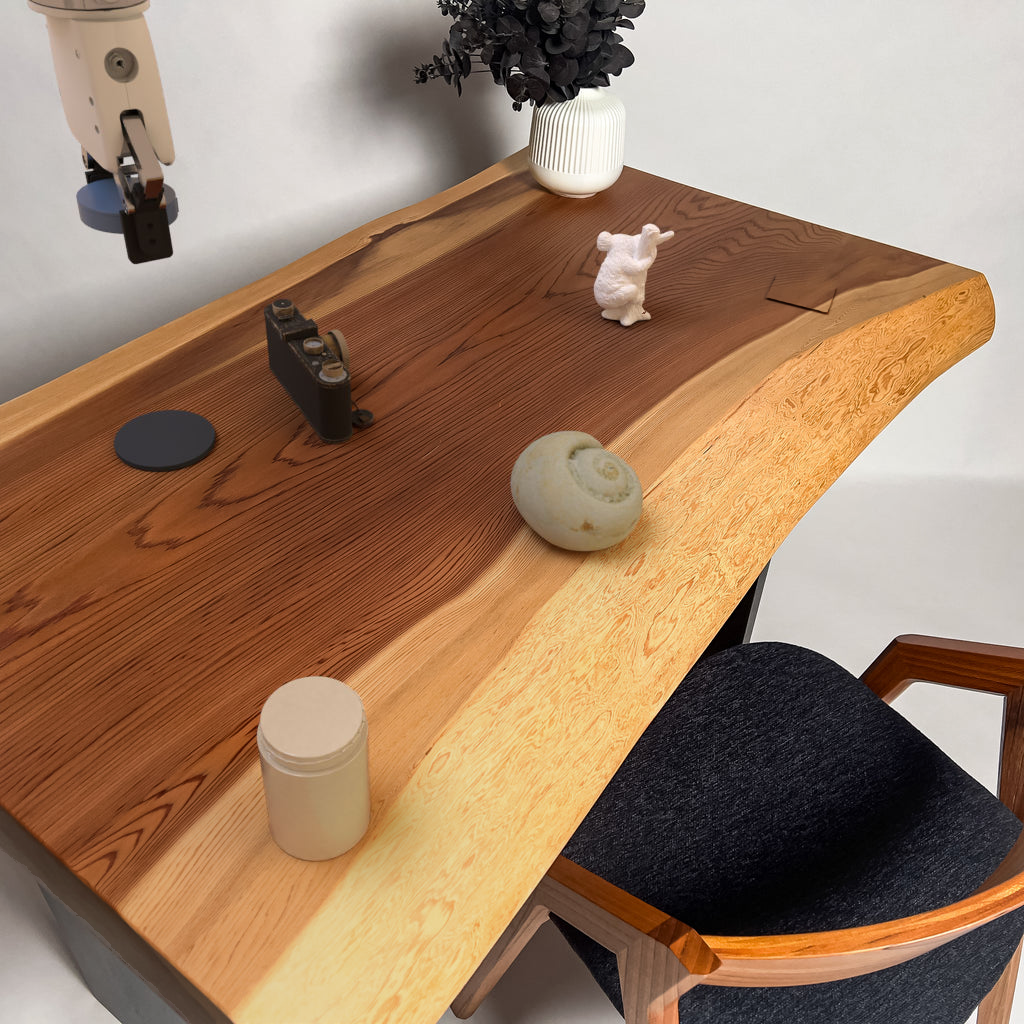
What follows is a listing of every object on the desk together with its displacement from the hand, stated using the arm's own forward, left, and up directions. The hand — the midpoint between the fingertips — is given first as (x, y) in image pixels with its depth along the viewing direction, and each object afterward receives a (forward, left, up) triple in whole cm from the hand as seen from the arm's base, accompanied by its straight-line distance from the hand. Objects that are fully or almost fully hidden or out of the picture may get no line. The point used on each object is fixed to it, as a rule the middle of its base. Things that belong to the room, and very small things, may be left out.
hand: (133, 237), depth 74 cm
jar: (-6, -40, -22) cm, 46 cm away
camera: (+16, +3, -22) cm, 28 cm away
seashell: (+26, -25, -22) cm, 42 cm away
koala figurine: (+55, +1, -22) cm, 60 cm away
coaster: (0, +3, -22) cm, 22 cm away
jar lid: (0, 0, +3) cm, 3 cm away
